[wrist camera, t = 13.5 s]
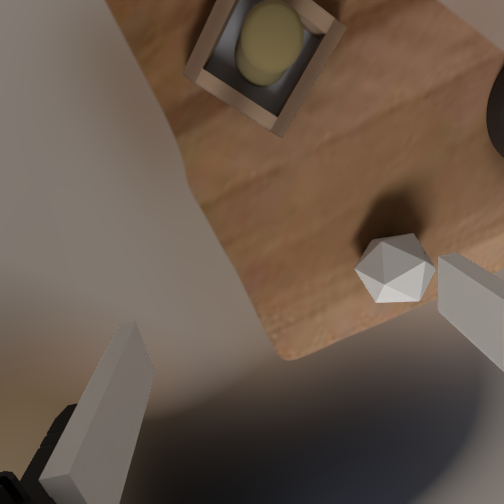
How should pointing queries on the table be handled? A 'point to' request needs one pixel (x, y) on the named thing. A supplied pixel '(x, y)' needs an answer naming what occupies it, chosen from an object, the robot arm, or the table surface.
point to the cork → (268, 42)
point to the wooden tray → (243, 93)
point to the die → (395, 269)
